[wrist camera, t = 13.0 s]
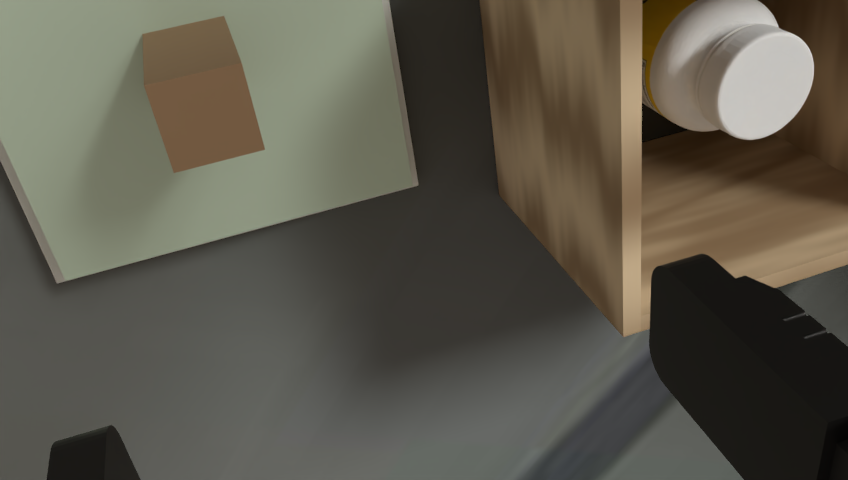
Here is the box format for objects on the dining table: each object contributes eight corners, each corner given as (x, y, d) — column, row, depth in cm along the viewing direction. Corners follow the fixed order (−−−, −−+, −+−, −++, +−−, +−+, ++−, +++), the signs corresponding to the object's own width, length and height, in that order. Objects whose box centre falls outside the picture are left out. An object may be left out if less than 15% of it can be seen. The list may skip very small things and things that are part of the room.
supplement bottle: (667, -63, 35) (826, -16, 27) (691, 45, 38) (840, 117, 30) (559, -6, 35) (687, 59, 27) (592, 98, 38) (715, 185, 30)
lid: (-108, -113, 26) (-175, -83, 20) (344, -195, 29) (395, -188, 23) (66, 271, 34) (53, 369, 28) (408, 178, 37) (457, 251, 31)
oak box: (467, -115, 32) (619, -67, 22) (776, -177, 34) (1038, -160, 24) (499, 195, 39) (623, 337, 29) (751, 124, 42) (944, 233, 32)
